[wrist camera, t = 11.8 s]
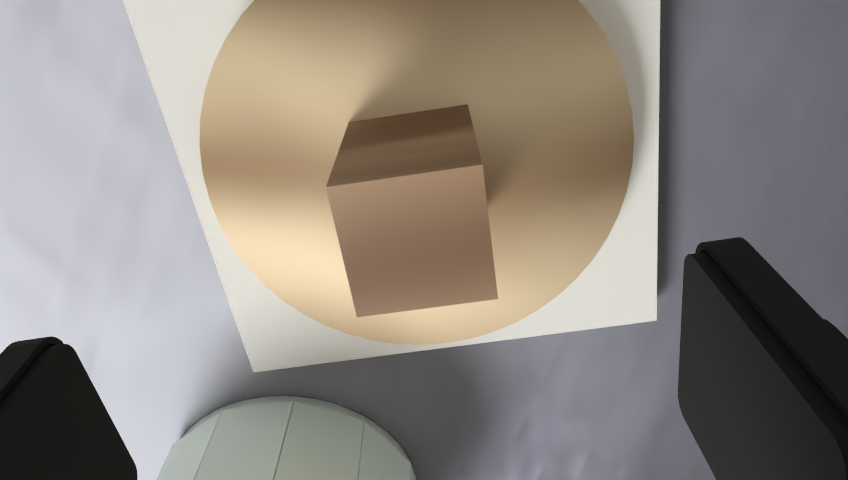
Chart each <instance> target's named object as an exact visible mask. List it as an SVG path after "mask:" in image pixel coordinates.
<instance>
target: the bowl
mask: <svg viewBox="0 0 848 480" xmlns="http://www.w3.org/2000/svg"><path fill="white" fill-rule="evenodd" d="M157 480H417V479H416V476H415V472H414V469H413V466H412V464H411V462H410V460H409V458H408V457H407V455H406V453H405V452H404V451H403V449H402V448H401V446H400V445H399V444H398V443H397V442H396V441H395V440H394V439H393V438H392V437H391V436H390V435H389V433H387V432H386V431H385V430H383V429H382V428H381V427H380V426H378V425H377V424H376V423H374V422H372V421H371V420H369V419H368V418H366V417H364V416H363V415H361V414H358V413H356V412H354V411H352V410H350V409H348V408H345V407H342V406H339V405H336V404H333V403H330V402H326V401H322V400H318V399H313V398H305V397H298V396H268V397H258V398H253V399H247V400H242V401H239V402H236V403H233V404H229V405H227V406H224V407H222V408H220V409H217V410H215V411H213V412H211V413H210V414H208V415H206V416H205V417H203V418H202V419H200V420H199V421H198V422H197V423H195V424H194V425H193V426H192V427H190V428H189V430H188V431H187V432H186V433H185V434H184V435H183V436H182V438H181V439H180V440H179V441H177V442H176V443H174V444H173V446H172V448H171V450H170V452H169V454H168V456H167V458H166V461H165V463H164V465H163V467H162V469H161V471H160V473H159V476H158V478H157Z"/></svg>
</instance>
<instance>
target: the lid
mask: <svg viewBox="0 0 848 480" xmlns="http://www.w3.org/2000/svg"><path fill="white" fill-rule="evenodd" d="M199 147H200V156H201V164H202V172H203V177H204V181H205V185H206V189H207V192H208V196H209V200H210V202H211V205H212V207H213V210H214V212H215V215H216V217H217V220H218V222H219V224H220V226H221V228H222V230H223V231H224V233H225V235H226V237H227V239H228V240H229V242H230V244H231V246H232V247H233V249H234V250H235V251H236V253H237V254H238V255H239V257H240V258H241V259H242V261H243V262H244V263H245V265H246V266H247V267H248V268H249V269H250V270H251V272H252V273H253V274H254V275H255V276H256V277H257V278H258V279H259V280H260V281H261V282H262V283H263V284H264V285H265V286H266V287H267V288H268V289H270V290H271V291H272V292H273V293H274V294H276V295H277V296H278V297H279V298H280V299H282V300H283V301H284V302H286V303H287V304H289V305H290V306H292V307H293V308H295V309H296V310H298V311H299V312H301V313H302V314H304V315H306V316H308V317H310V318H312V319H314V320H316V321H318V322H320V323H322V324H323V325H325V326H328V327H330V328H333V329H336V330H338V331H341V332H344V333H346V334H349V335H353V336H357V337H361V338H365V339H369V340H373V341H379V342H386V343H393V344H409V345H428V344H442V343H450V342H455V341H461V340H466V339H471V338H475V337H478V336H481V335H485V334H488V333H491V332H494V331H497V330H499V329H502V328H504V327H506V326H509V325H511V324H513V323H516V322H518V321H520V320H521V319H523V318H525V317H527V316H528V315H530V314H532V313H534V312H536V311H537V310H539V309H540V308H542V307H543V306H544V305H546V304H547V303H549V302H550V301H551V300H553V299H554V298H556V297H557V296H558V295H559V294H560V293H562V292H563V291H564V290H565V289H566V288H567V287H568V286H569V285H570V284H571V283H573V282H574V281H575V280H576V279H577V278H578V277H579V275H580V274H581V273H582V272H583V271H584V270H585V268H586V267H587V266H588V265H589V264H590V263H591V261H592V260H593V259H594V257H595V256H596V254H597V253H598V251H599V250H600V248H601V247H602V245H603V244H604V242H605V241H606V239H607V238H608V236H609V234H610V232H611V230H612V228H613V226H614V224H615V222H616V220H617V218H618V216H619V213H620V210H621V207H622V204H623V201H624V198H625V195H626V193H627V189H628V184H629V179H630V174H631V169H632V163H633V147H634V130H633V116H632V108H631V103H630V98H629V94H628V89H627V85H626V81H625V79H624V76H623V73H622V70H621V68H620V65H619V62H618V60H617V57H616V55H615V53H614V51H613V49H612V48H611V46H610V44H609V42H608V40H607V38H606V37H605V35H604V33H603V31H602V29H601V28H600V27H599V25H598V24H597V23H596V21H595V20H594V19H593V17H592V16H591V15H590V14H589V12H588V11H587V10H586V8H585V7H584V6H583V5H582V4H581V3H580V2H579V1H578V0H254V1H253V2H252V3H251V4H250V6H249V7H248V8H247V9H246V10H245V11H244V12H243V13H242V15H241V16H240V18H239V19H238V21H237V22H236V24H235V25H234V27H233V28H232V29H231V31H230V32H229V34H228V35H227V37H226V39H225V41H224V43H223V45H222V47H221V49H220V51H219V53H218V55H217V57H216V59H215V61H214V63H213V66H212V69H211V73H210V76H209V79H208V82H207V85H206V89H205V92H204V98H203V104H202V110H201V116H200V146H199Z"/></svg>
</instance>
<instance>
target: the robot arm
mask: <svg viewBox="0 0 848 480" xmlns="http://www.w3.org/2000/svg"><path fill="white" fill-rule="evenodd" d="M678 399H679V405H680V409H681V412H682V415H683V417H684V419H685V421H686V423H687V425H688V427H689V429H690V430H691V432H692V434H693V436H694V438H695V440H696V442H697V444H698V446H699V448H700V449H701V451H702V453H703V455H704V457H705V459H706V461H707V463H708V465H709V466H710V468H711V470H712V472H713V474H714V476H715V478H716V480H848V339H847V338H846V337H845V336H844V335H843V334H842V333H841V332H840V331H839V330H838V329H837V328H836V327H835V326H834V325H833V324H831V323H830V322H829V321H827V320H825V319H822V318H821V317H820V316H819V315H818V314H817V313H816V312H815V311H814V310H813V309H812V308H811V307H810V306H809V305H808V303H807V302H806V301H805V300H804V299H803V298H802V297H801V296H800V295H799V294H798V293H797V292H796V291H795V290H794V289H793V288H792V287H791V286H790V285H789V284H788V283H787V282H786V281H785V280H784V279H783V278H782V277H781V276H780V275H779V274H778V273H777V272H776V271H775V270H774V269H773V268H772V267H771V265H770V264H769V263H768V262H767V261H766V260H765V259H764V258H763V257H762V256H761V255H760V254H759V253H758V252H757V251H756V250H755V249H754V248H753V247H752V246H751V245H750V244H749V243H748V242H747V241H746V240H745V239H743V238H740V237H737V238H730V239H723V240H716V241H709V242H702V243H700V244H699V245H698V246H697V249H696V253H695V254H688V255H687V256H686V258H685V261H684V274H683V296H682V317H681V338H680V359H679V380H678ZM0 480H137V469H136V466H135V463H134V461H133V459H132V457H131V456H130V454H129V452H128V450H127V448H126V446H125V444H124V442H123V440H122V439H121V437H120V435H119V433H118V431H117V429H116V427H115V425H114V423H113V422H112V420H111V418H110V416H109V414H108V412H107V410H106V408H105V406H104V405H103V403H102V401H101V399H100V397H99V395H98V393H97V391H96V389H95V388H94V386H93V384H92V382H91V380H90V378H89V376H88V374H87V372H86V371H85V369H84V367H83V365H82V363H81V361H80V359H79V357H78V355H77V354H76V352H75V350H74V349H73V347H71V346H70V345H67V344H63V342H62V341H61V340H59V339H58V338H56V337H45V338H38V339H31V340H24V341H17V342H14V343H11V344H10V345H9V346H8V347H7V348H6V349H5V350H4V351H3V352H2V353H1V354H0Z"/></svg>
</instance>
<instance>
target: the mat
mask: <svg viewBox="0 0 848 480" xmlns="http://www.w3.org/2000/svg"><path fill="white" fill-rule="evenodd" d="M253 1H254V0H123V2H124V5H125V7H126V10H127V13H128V16H129V19H130V22H131V25H132V27H133V30H134V33H135V36H136V39H137V42H138V45H139V47H140V50H141V53H142V56H143V59H144V62H145V65H146V67H147V70H148V73H149V76H150V79H151V82H152V85H153V87H154V90H155V93H156V96H157V99H158V102H159V105H160V107H161V110H162V113H163V116H164V119H165V122H166V125H167V127H168V130H169V133H170V136H171V139H172V142H173V145H174V147H175V150H176V153H177V156H178V159H179V162H180V165H181V167H182V170H183V173H184V176H185V179H186V182H187V185H188V187H189V190H190V193H191V196H192V199H193V202H194V205H195V207H196V210H197V213H198V216H199V219H200V222H201V225H202V227H203V230H204V233H205V236H206V239H207V242H208V245H209V247H210V250H211V253H212V256H213V259H214V262H215V265H216V267H217V270H218V273H219V276H220V279H221V282H222V285H223V287H224V290H225V293H226V296H227V299H228V302H229V305H230V307H231V310H232V313H233V316H234V319H235V322H236V325H237V327H238V330H239V333H240V336H241V339H242V342H243V345H244V347H245V350H246V353H247V356H248V359H249V362H250V365H251V367H252V370H253V372H261V371H269V370H277V369H284V368H292V367H300V366H308V365H315V364H323V363H331V362H339V361H346V360H354V359H362V358H370V357H377V356H385V355H393V354H401V353H408V352H416V351H424V350H432V349H439V348H447V347H455V346H463V345H470V344H478V343H486V342H494V341H501V340H509V339H517V338H525V337H532V336H540V335H548V334H556V333H563V332H571V331H579V330H587V329H594V328H602V327H610V326H618V325H626V324H633V323H641V322H649V321H657V237H658V152H659V67H660V0H578V1H579V2H580V3H581V4H582V5H583V6H584V7H585V8H586V10H587V11H588V12H589V14H590V15H591V16H592V17H593V19H594V20H595V21H596V23H597V24H598V25H599V27H600V28H601V29H602V31H603V33H604V35H605V37H606V38H607V40H608V42H609V44H610V46H611V48H612V49H613V51H614V53H615V55H616V57H617V60H618V62H619V65H620V68H621V70H622V73H623V76H624V79H625V81H626V85H627V89H628V94H629V98H630V103H631V108H632V116H633V130H634V147H633V163H632V169H631V174H630V179H629V184H628V189H627V193H626V195H625V198H624V201H623V204H622V207H621V210H620V213H619V216H618V218H617V220H616V222H615V224H614V226H613V228H612V230H611V232H610V234H609V236H608V238H607V239H606V241H605V242H604V244H603V245H602V247H601V248H600V250H599V251H598V253H597V254H596V256H595V257H594V259H593V260H592V261H591V263H590V264H589V265H588V266H587V267H586V268H585V270H584V271H583V272H582V273H581V274H580V275H579V277H578V278H577V279H576V280H575V281H574V282H573V283H571V284H570V285H569V286H568V287H567V288H566V289H565V290H564V291H563V292H562V293H560V294H559V295H558V296H557V297H556V298H554V299H553V300H551V301H550V302H549V303H547V304H546V305H544V306H543V307H542V308H540V309H539V310H537V311H536V312H534V313H532V314H530V315H528V316H527V317H525V318H523V319H521V320H520V321H518V322H516V323H513V324H511V325H509V326H506V327H504V328H502V329H499V330H497V331H494V332H491V333H488V334H485V335H481V336H478V337H475V338H471V339H466V340H461V341H455V342H450V343H442V344H428V345H409V344H393V343H386V342H379V341H373V340H369V339H365V338H361V337H357V336H353V335H349V334H346V333H344V332H341V331H338V330H336V329H333V328H330V327H328V326H325V325H323V324H322V323H320V322H318V321H316V320H314V319H312V318H310V317H308V316H306V315H304V314H302V313H301V312H299V311H298V310H296V309H295V308H293V307H292V306H290V305H289V304H287V303H286V302H284V301H283V300H282V299H280V298H279V297H278V296H277V295H276V294H274V293H273V292H272V291H271V290H270V289H268V288H267V287H266V286H265V285H264V284H263V283H262V282H261V281H260V280H259V279H258V278H257V277H256V276H255V275H254V274H253V273H252V272H251V270H250V269H249V268H248V267H247V266H246V265H245V263H244V262H243V261H242V259H241V258H240V257H239V255H238V254H237V253H236V251H235V250H234V249H233V247H232V246H231V244H230V242H229V240H228V239H227V237H226V235H225V233H224V231H223V230H222V228H221V226H220V224H219V222H218V220H217V217H216V215H215V212H214V210H213V207H212V205H211V202H210V200H209V196H208V192H207V189H206V185H205V181H204V177H203V172H202V164H201V156H200V147H199V146H200V116H201V110H202V104H203V98H204V92H205V89H206V85H207V82H208V79H209V76H210V73H211V69H212V66H213V63H214V61H215V59H216V57H217V55H218V53H219V51H220V49H221V47H222V45H223V43H224V41H225V39H226V37H227V35H228V34H229V32H230V31H231V29H232V28H233V27H234V25H235V24H236V22H237V21H238V19H239V18H240V16H241V15H242V13H243V12H244V11H245V10H246V9H247V8H248V7H249V6H250V4H251V3H252V2H253Z"/></svg>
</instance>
